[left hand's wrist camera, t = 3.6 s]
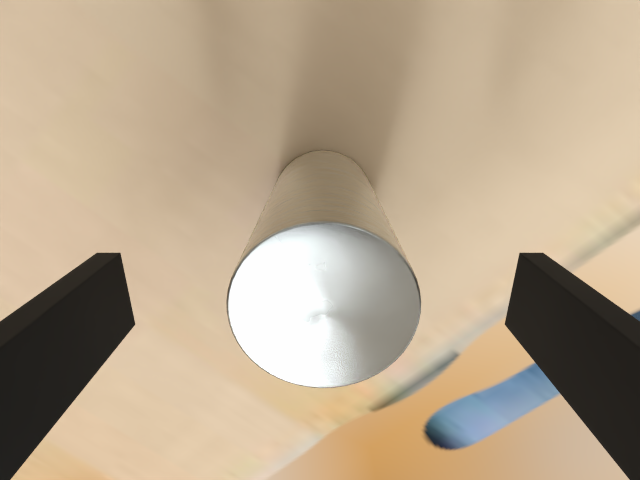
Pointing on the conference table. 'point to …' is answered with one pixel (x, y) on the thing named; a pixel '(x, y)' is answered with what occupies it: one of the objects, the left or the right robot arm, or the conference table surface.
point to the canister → (323, 279)
